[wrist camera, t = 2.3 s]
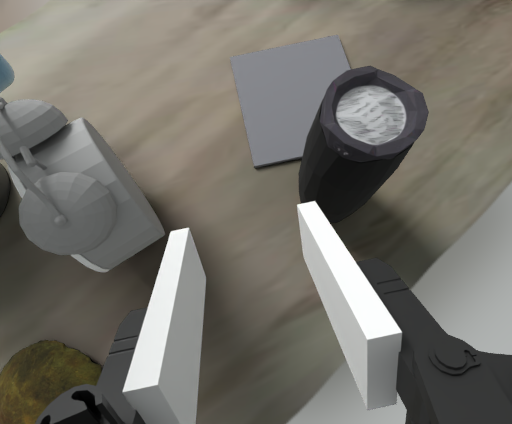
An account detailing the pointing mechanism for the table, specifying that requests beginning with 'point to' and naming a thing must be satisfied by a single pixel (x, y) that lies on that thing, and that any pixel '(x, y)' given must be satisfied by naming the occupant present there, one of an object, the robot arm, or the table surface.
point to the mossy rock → (41, 379)
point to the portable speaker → (358, 139)
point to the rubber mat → (285, 94)
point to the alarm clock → (73, 187)
